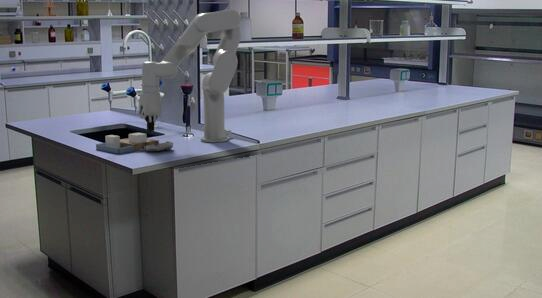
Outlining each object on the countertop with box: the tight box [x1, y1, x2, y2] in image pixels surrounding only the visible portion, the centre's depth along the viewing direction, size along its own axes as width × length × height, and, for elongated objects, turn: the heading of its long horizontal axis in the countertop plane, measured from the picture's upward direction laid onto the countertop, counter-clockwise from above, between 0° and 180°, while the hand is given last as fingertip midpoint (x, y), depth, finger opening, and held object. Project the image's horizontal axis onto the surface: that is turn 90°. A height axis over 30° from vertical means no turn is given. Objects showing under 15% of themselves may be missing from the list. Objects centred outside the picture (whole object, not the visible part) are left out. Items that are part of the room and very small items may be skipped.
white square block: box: [128, 132, 148, 143], centre depth 259 cm, size 6×6×4 cm
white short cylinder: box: [104, 134, 121, 148], centre depth 257 cm, size 6×6×4 cm
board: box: [120, 137, 160, 152], centre depth 263 cm, size 14×15×3 cm
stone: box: [144, 140, 174, 152], centre depth 254 cm, size 12×9×3 cm
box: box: [95, 142, 135, 155], centre depth 254 cm, size 8×16×2 cm, turn 51°
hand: (150, 130), depth 265 cm, fingers closed
